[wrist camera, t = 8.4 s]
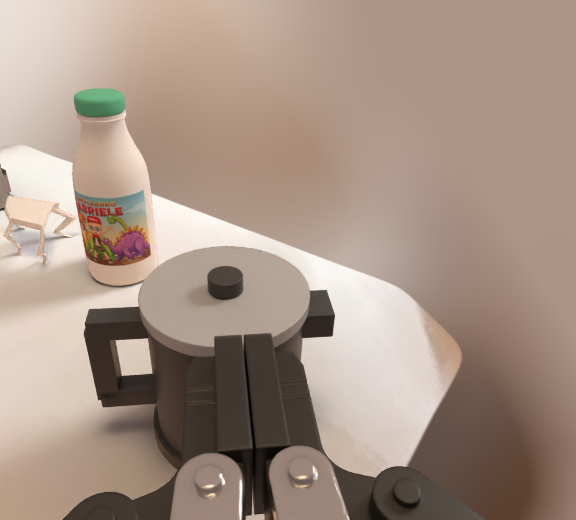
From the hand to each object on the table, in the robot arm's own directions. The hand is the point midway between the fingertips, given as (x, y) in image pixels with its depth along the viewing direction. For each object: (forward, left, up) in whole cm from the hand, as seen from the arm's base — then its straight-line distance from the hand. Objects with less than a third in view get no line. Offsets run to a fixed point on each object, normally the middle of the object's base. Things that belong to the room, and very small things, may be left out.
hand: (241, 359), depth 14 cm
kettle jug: (+3, -18, -24) cm, 31 cm away
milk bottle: (+15, -41, -25) cm, 50 cm away
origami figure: (+27, -47, -25) cm, 59 cm away
